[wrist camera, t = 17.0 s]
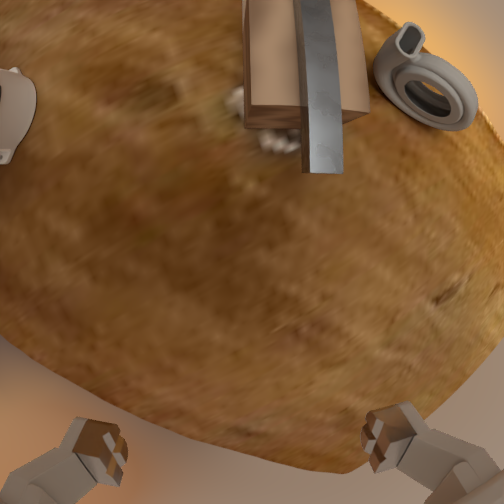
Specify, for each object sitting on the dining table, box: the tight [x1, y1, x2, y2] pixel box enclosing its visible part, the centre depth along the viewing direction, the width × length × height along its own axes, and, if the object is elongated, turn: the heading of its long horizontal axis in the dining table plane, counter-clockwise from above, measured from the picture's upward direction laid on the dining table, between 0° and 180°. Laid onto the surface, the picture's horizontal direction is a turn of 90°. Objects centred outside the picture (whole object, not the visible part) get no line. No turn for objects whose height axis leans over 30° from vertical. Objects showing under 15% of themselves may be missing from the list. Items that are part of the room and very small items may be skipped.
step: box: [243, 0, 370, 129], centre depth 30 cm, size 12×16×14 cm
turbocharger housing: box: [373, 22, 478, 131], centre depth 30 cm, size 17×6×15 cm, turn 58°
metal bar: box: [293, 0, 343, 174], centre depth 23 cm, size 3×20×3 cm, turn 1°
